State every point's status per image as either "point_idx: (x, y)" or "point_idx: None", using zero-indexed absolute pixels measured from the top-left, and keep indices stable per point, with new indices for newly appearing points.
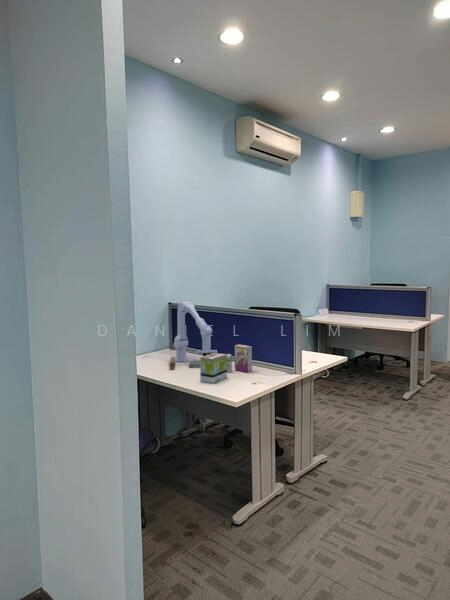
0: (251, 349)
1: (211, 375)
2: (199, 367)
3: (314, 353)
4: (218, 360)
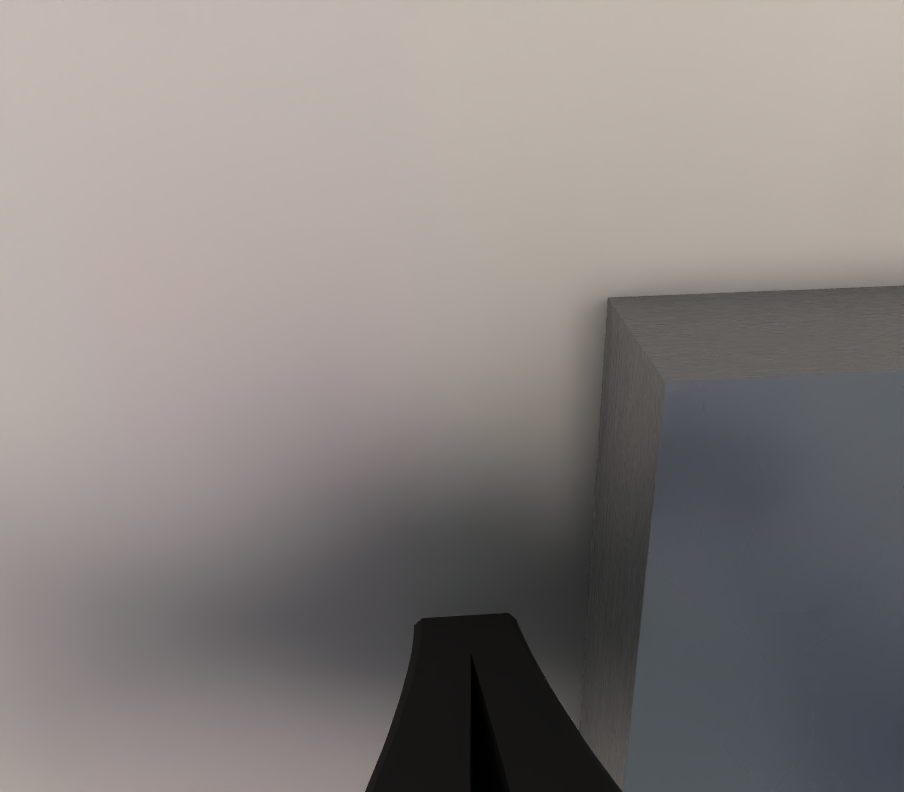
0: None
1: None
2: (859, 292)
3: None
4: None
